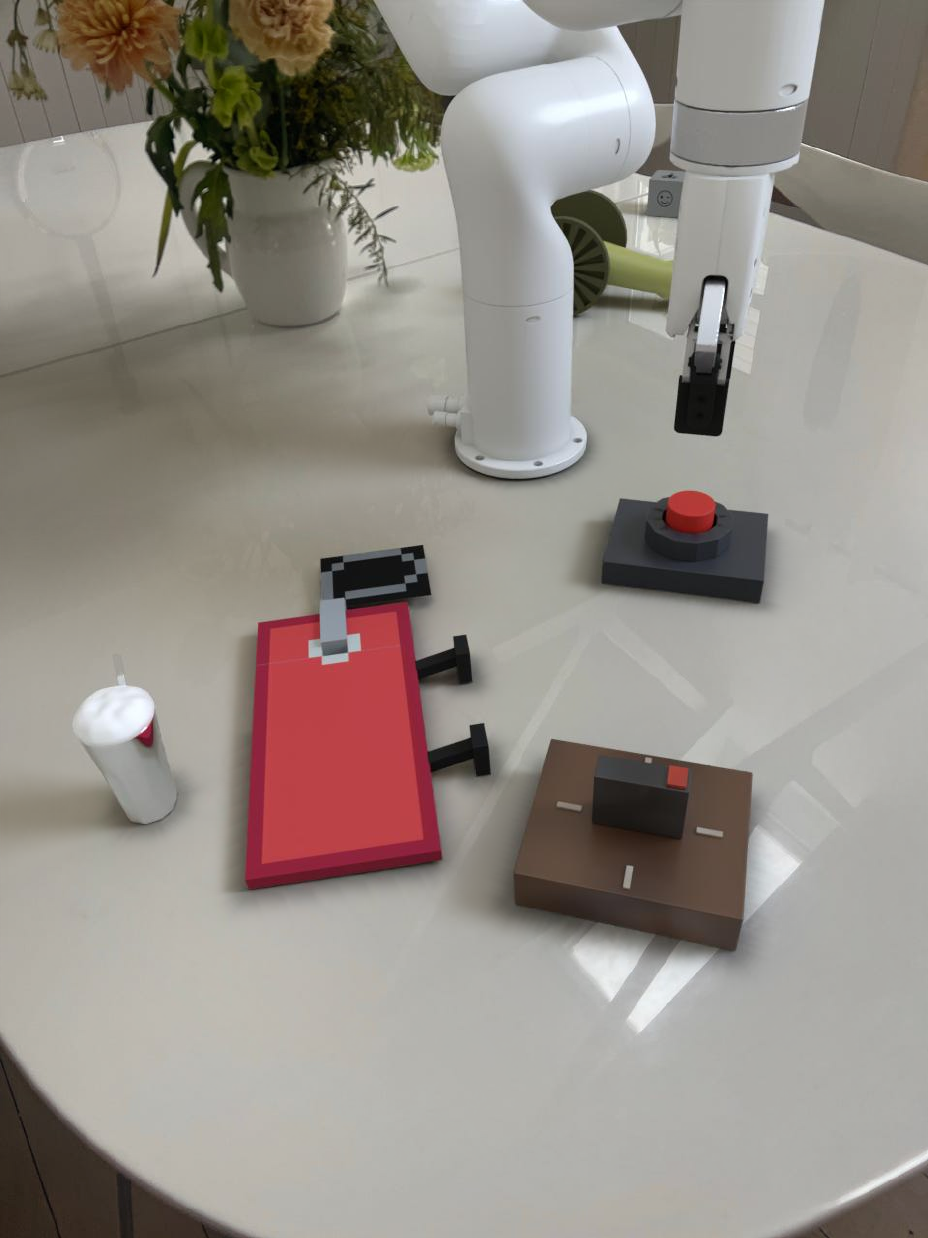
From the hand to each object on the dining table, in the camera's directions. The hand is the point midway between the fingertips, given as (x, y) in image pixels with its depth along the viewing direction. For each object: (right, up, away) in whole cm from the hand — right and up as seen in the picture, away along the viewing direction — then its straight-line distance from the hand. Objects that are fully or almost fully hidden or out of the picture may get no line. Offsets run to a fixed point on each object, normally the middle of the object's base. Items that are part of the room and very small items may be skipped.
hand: (702, 403), depth 67 cm
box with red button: (-7, -26, -14) cm, 31 cm away
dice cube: (+13, +45, +74) cm, 88 cm away
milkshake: (-37, -27, -7) cm, 46 cm away
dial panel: (-7, -29, -12) cm, 32 cm away
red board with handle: (-24, -21, -1) cm, 31 cm away
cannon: (+2, +23, +49) cm, 54 cm away
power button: (+1, -8, +7) cm, 10 cm away
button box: (+1, -10, +9) cm, 14 cm away
